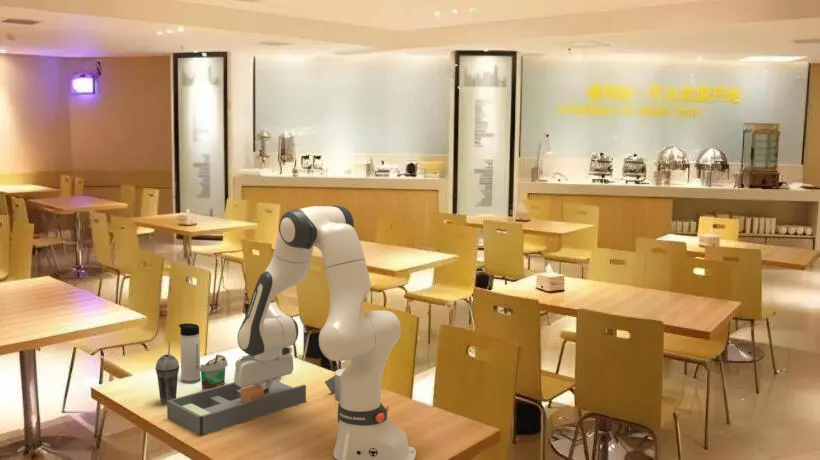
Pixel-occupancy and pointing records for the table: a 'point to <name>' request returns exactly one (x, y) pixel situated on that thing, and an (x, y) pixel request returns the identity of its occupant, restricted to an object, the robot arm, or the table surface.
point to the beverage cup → (167, 376)
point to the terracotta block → (251, 393)
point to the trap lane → (229, 406)
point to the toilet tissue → (335, 383)
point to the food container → (213, 373)
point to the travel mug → (190, 353)
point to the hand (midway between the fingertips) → (264, 393)
